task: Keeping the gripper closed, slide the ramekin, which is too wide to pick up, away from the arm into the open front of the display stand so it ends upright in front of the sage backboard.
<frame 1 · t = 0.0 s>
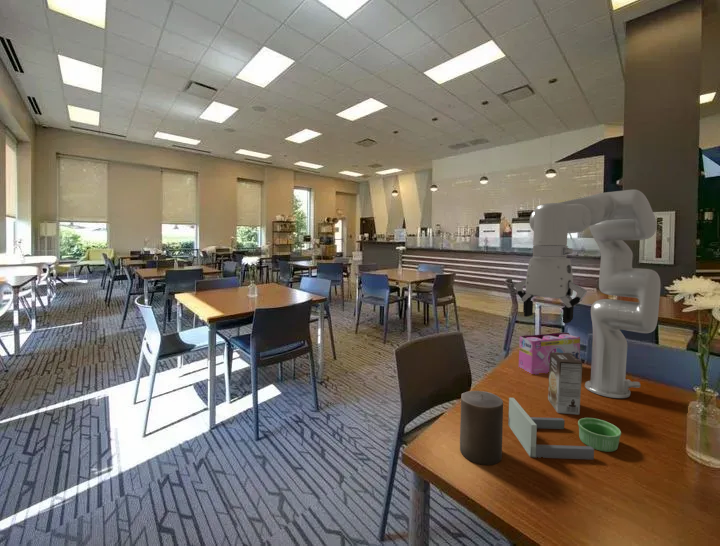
hand: (546, 319, 88), 31 cm above the table, tool pointing down, fingers open, 9 cm apart
pillar candle: (480, 453, 83), on the table
coffee box: (563, 407, 105), on the table
ramekin: (598, 443, 86), on the table
display stand: (547, 440, 87), on the table
gum box: (548, 369, 137), on the table
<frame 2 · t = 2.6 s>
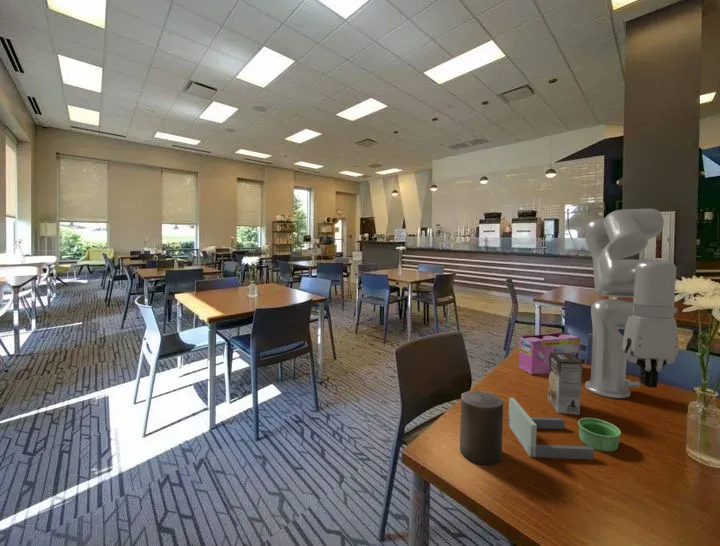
hand: (648, 385, 84), 16 cm above the table, tool pointing down, fingers closed
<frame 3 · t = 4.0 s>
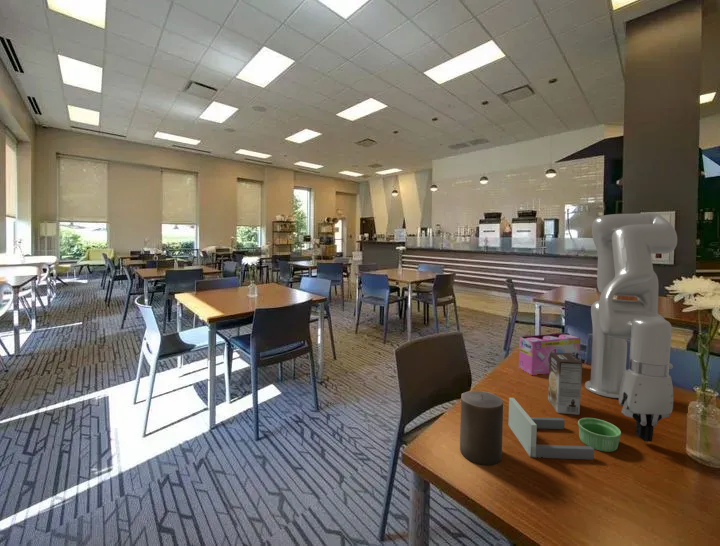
hand: (643, 438, 85), 2 cm above the table, tool pointing down, fingers closed
nothing on the table moved.
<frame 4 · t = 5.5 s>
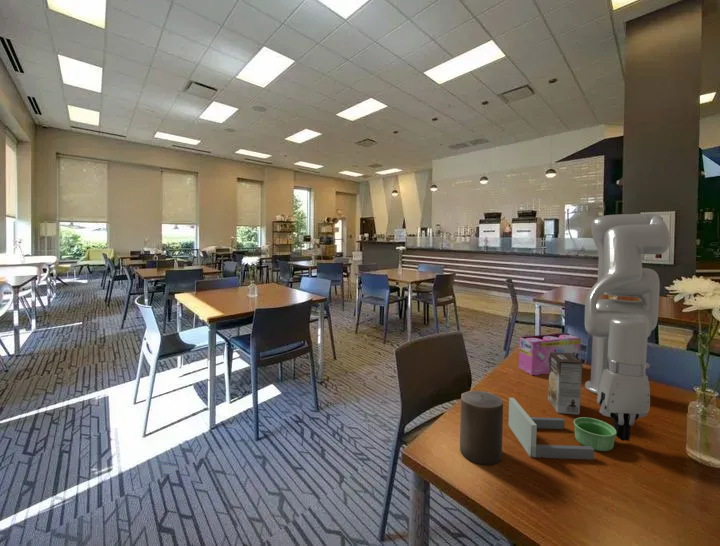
hand: (621, 437, 86), 2 cm above the table, tool pointing down, fingers closed
ramekin: (593, 443, 86), on the table, touching gripper
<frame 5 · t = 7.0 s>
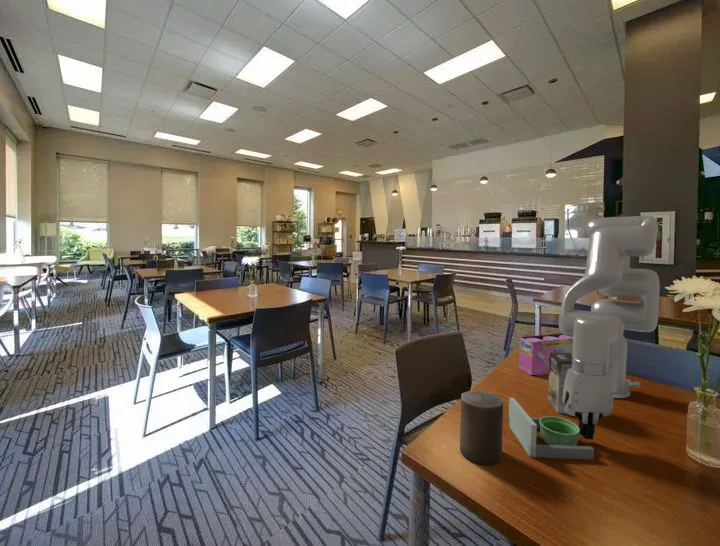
hand: (586, 436, 86), 2 cm above the table, tool pointing down, fingers closed
ramekin: (558, 441, 87), on the table, touching gripper
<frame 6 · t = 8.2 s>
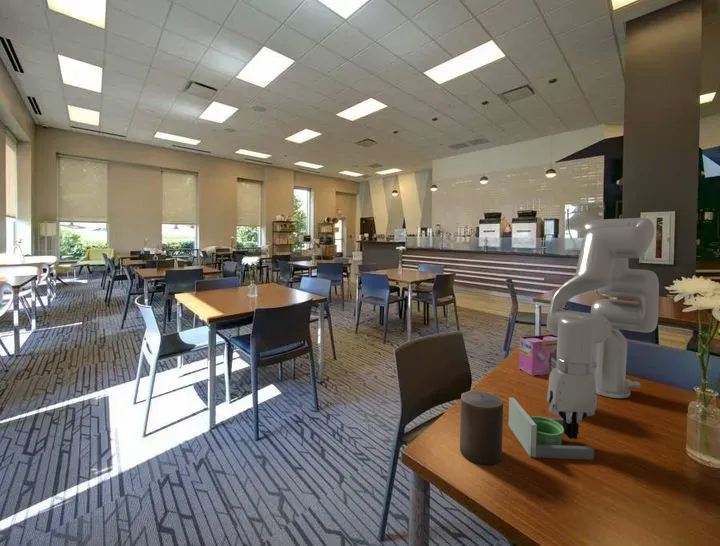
hand: (570, 435, 87), 2 cm above the table, tool pointing down, fingers closed
ramekin: (543, 441, 87), on the table, touching gripper
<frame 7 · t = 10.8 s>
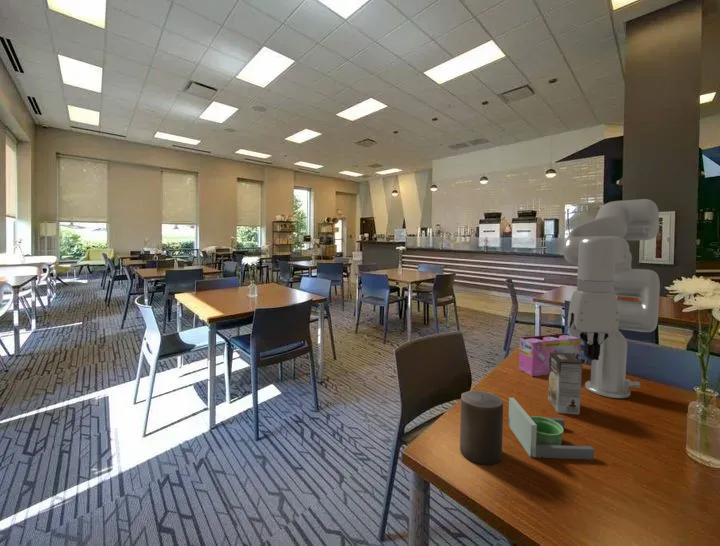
hand: (591, 358, 86), 22 cm above the table, tool pointing down, fingers closed
ramekin: (542, 441, 87), on the table
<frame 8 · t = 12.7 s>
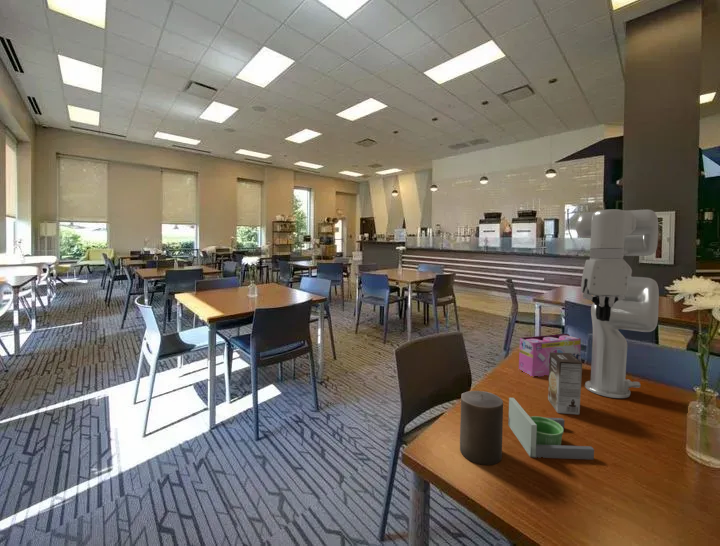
hand: (602, 320, 95), 29 cm above the table, tool pointing down, fingers closed
at the end: ramekin 1.6 cm off-centre on the display stand, point 0.0 cm above the display stand's base; ramekin tilted 0°; ramekin moved 13.6 cm from its start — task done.
